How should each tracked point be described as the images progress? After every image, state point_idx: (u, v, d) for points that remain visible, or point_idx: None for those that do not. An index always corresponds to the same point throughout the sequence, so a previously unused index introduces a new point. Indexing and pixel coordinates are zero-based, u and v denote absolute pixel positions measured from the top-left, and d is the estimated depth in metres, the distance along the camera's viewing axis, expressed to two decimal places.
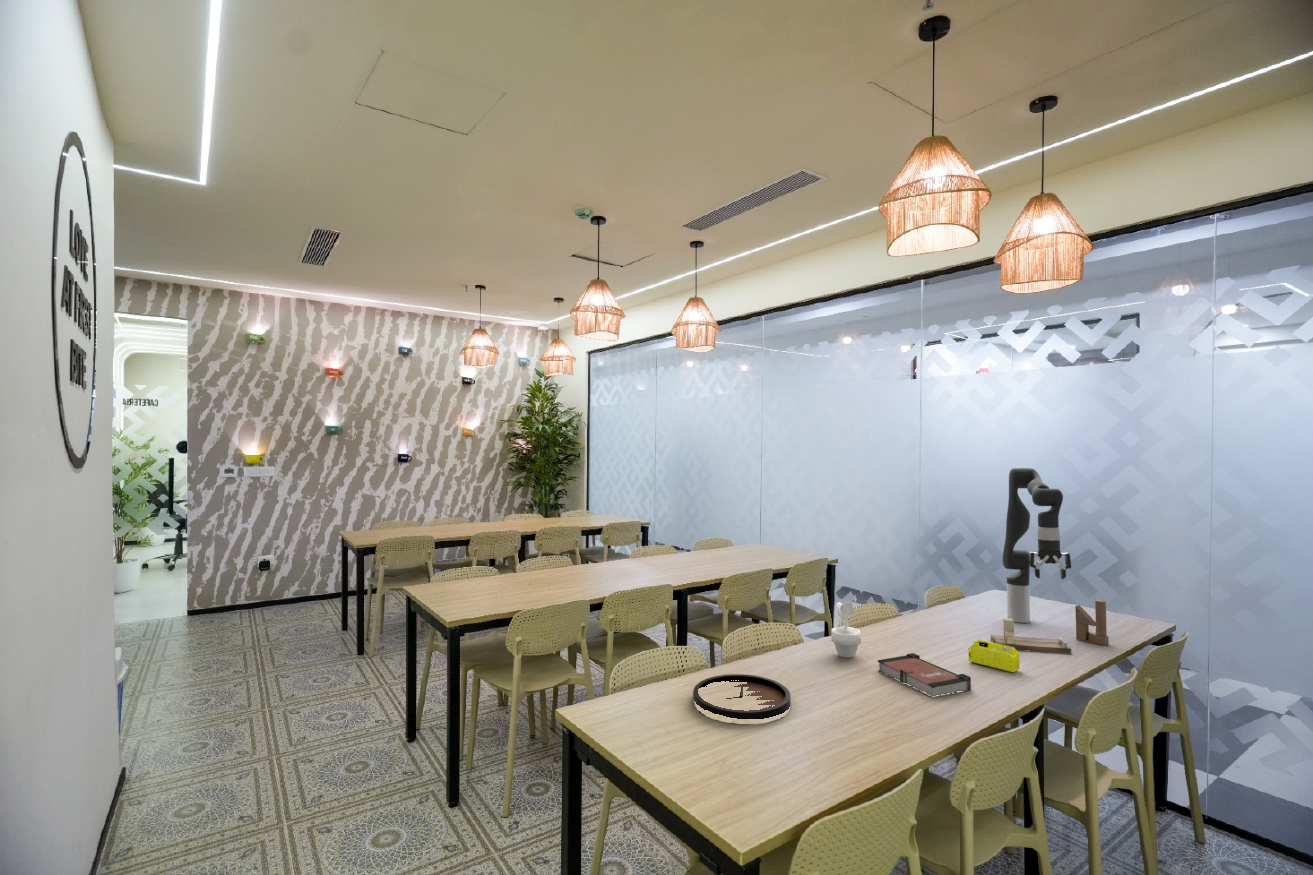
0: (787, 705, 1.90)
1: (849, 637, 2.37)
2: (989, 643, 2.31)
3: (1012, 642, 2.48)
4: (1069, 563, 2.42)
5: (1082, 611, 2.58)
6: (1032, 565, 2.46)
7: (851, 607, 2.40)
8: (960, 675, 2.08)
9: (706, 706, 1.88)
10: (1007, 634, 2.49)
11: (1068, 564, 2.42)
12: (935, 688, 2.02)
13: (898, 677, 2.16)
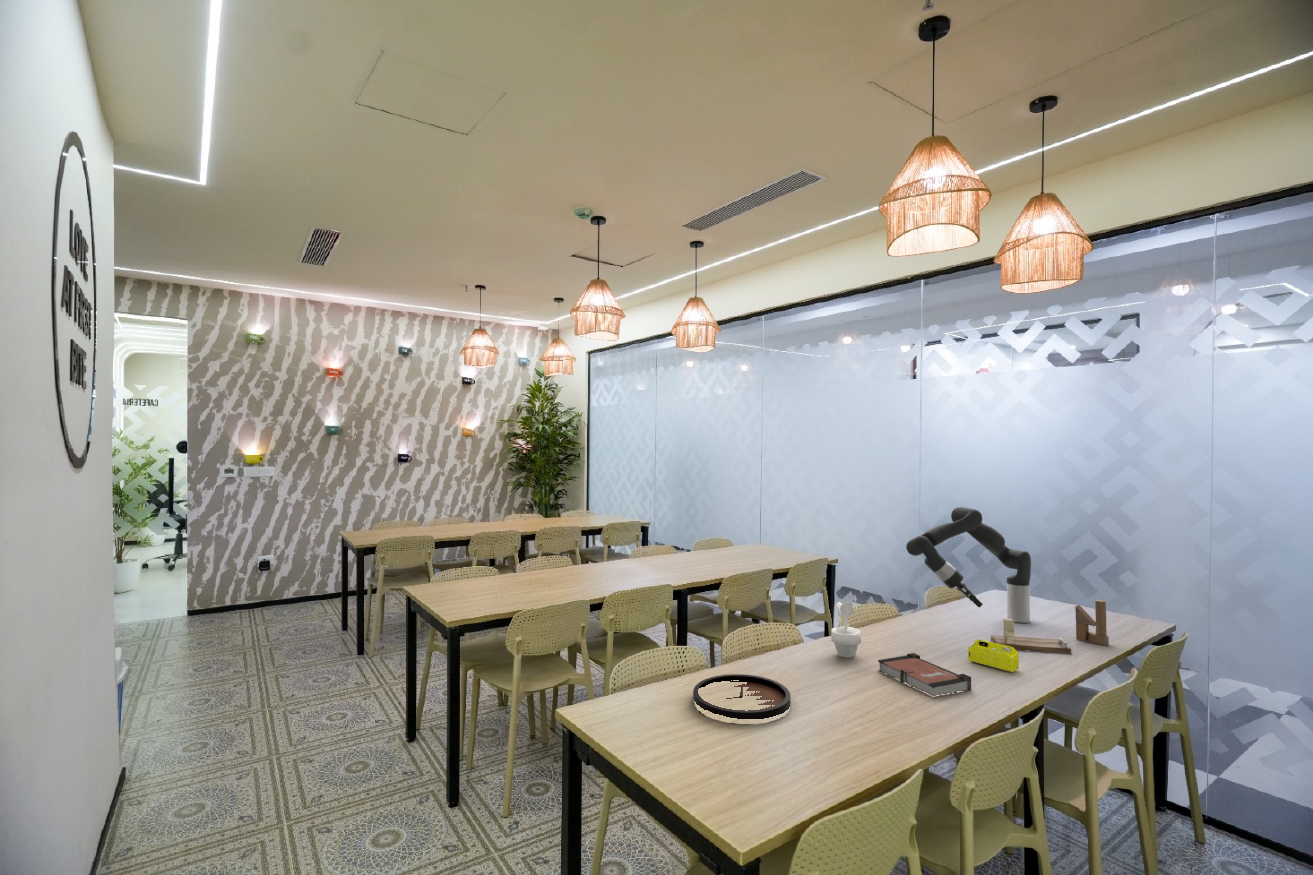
0: (787, 705, 1.90)
1: (849, 637, 2.37)
2: (989, 643, 2.32)
3: (1012, 642, 2.48)
4: (967, 597, 2.49)
5: (1082, 611, 2.58)
6: None
7: (851, 607, 2.40)
8: (960, 675, 2.08)
9: (706, 706, 1.88)
10: (1007, 634, 2.49)
11: (968, 597, 2.49)
12: (935, 688, 2.02)
13: (898, 677, 2.16)
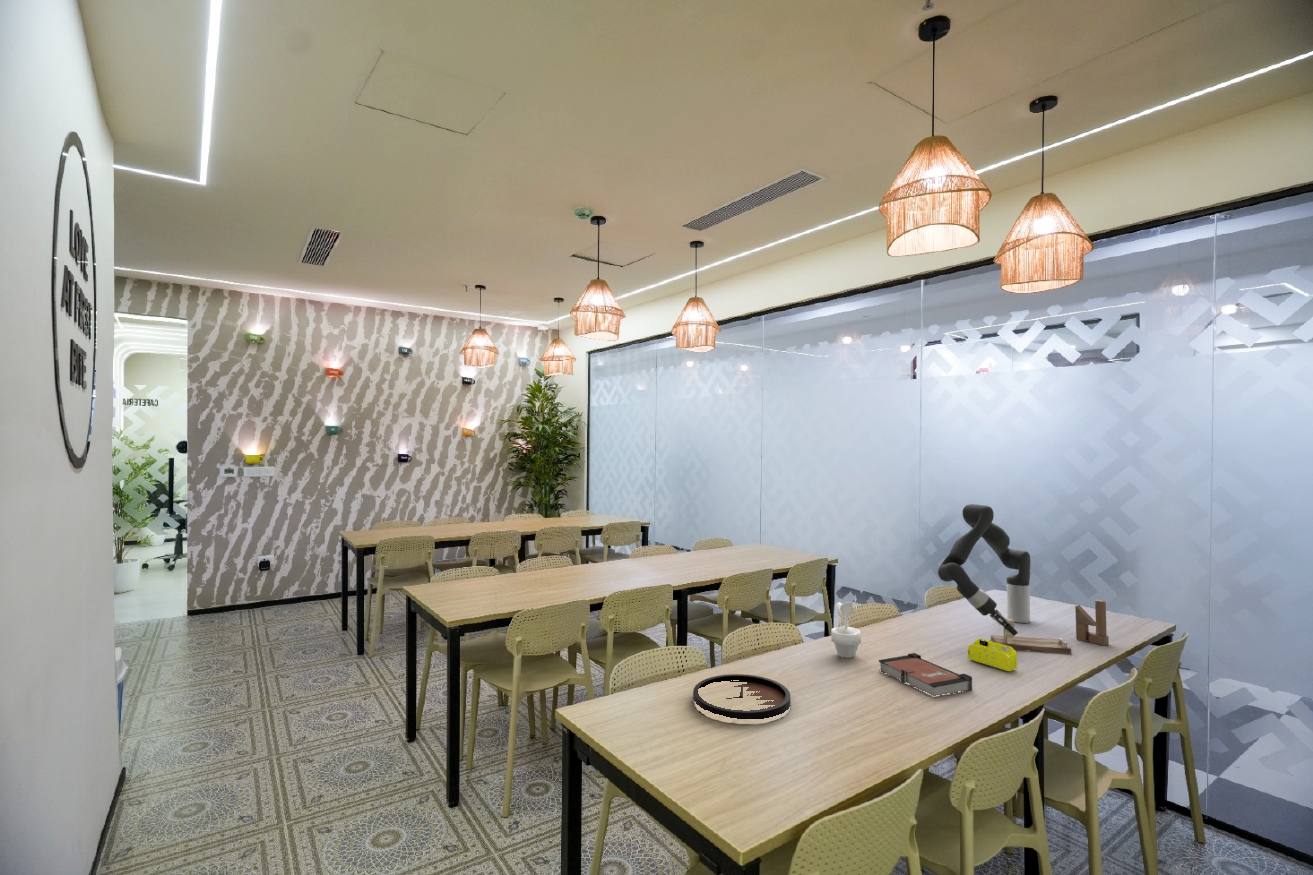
0: (787, 705, 1.90)
1: (849, 637, 2.37)
2: (989, 642, 2.33)
3: (1012, 642, 2.48)
4: (1003, 626, 2.47)
5: (1082, 611, 2.58)
6: None
7: (851, 607, 2.40)
8: (961, 675, 2.08)
9: (706, 706, 1.88)
10: (1007, 634, 2.49)
11: (1003, 626, 2.48)
12: (936, 688, 2.02)
13: (899, 677, 2.16)
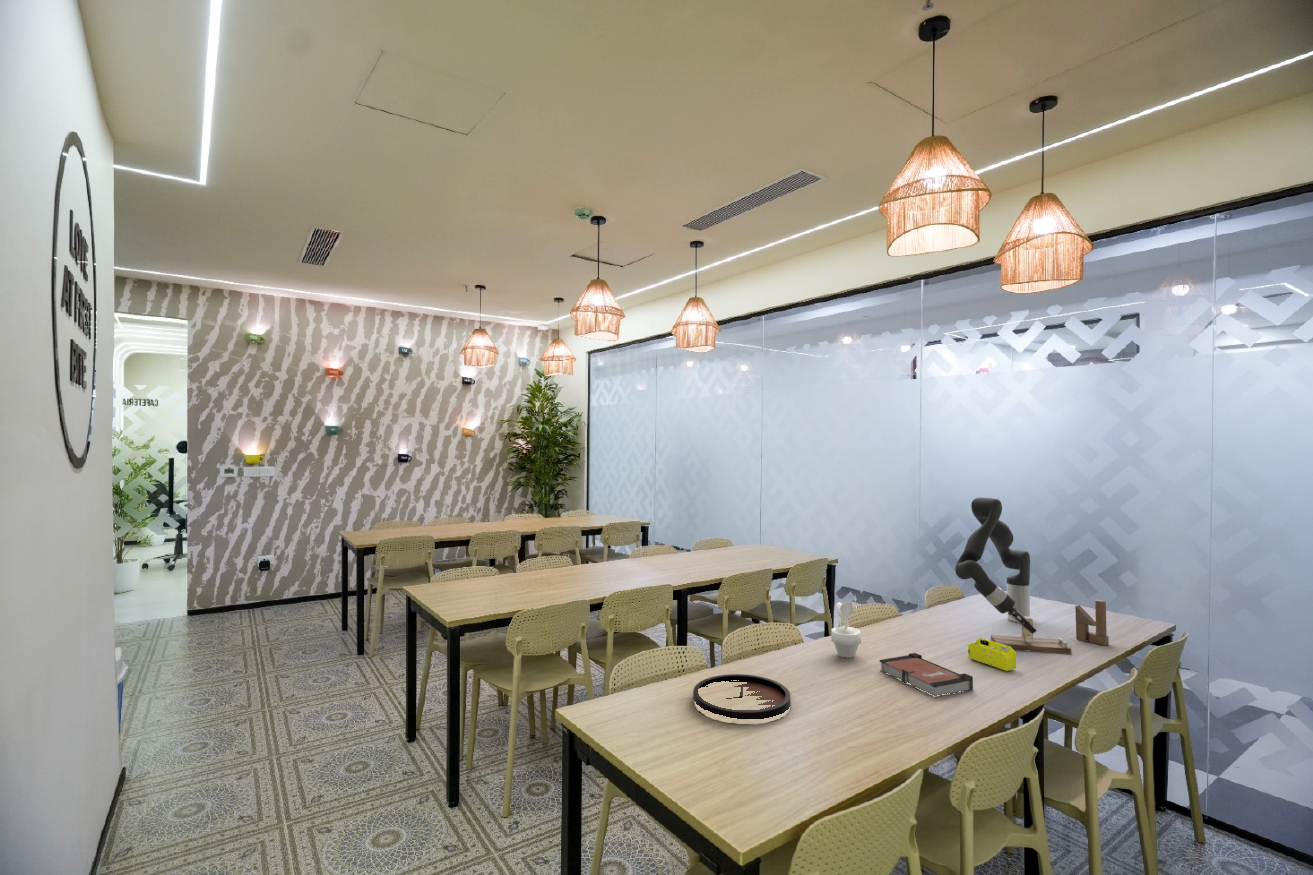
0: (787, 705, 1.90)
1: (849, 637, 2.37)
2: (989, 641, 2.33)
3: (1031, 640, 2.46)
4: None
5: (1082, 611, 2.58)
6: None
7: (851, 607, 2.40)
8: (962, 675, 2.08)
9: (706, 706, 1.88)
10: (1026, 632, 2.48)
11: None
12: (937, 688, 2.02)
13: (900, 677, 2.16)
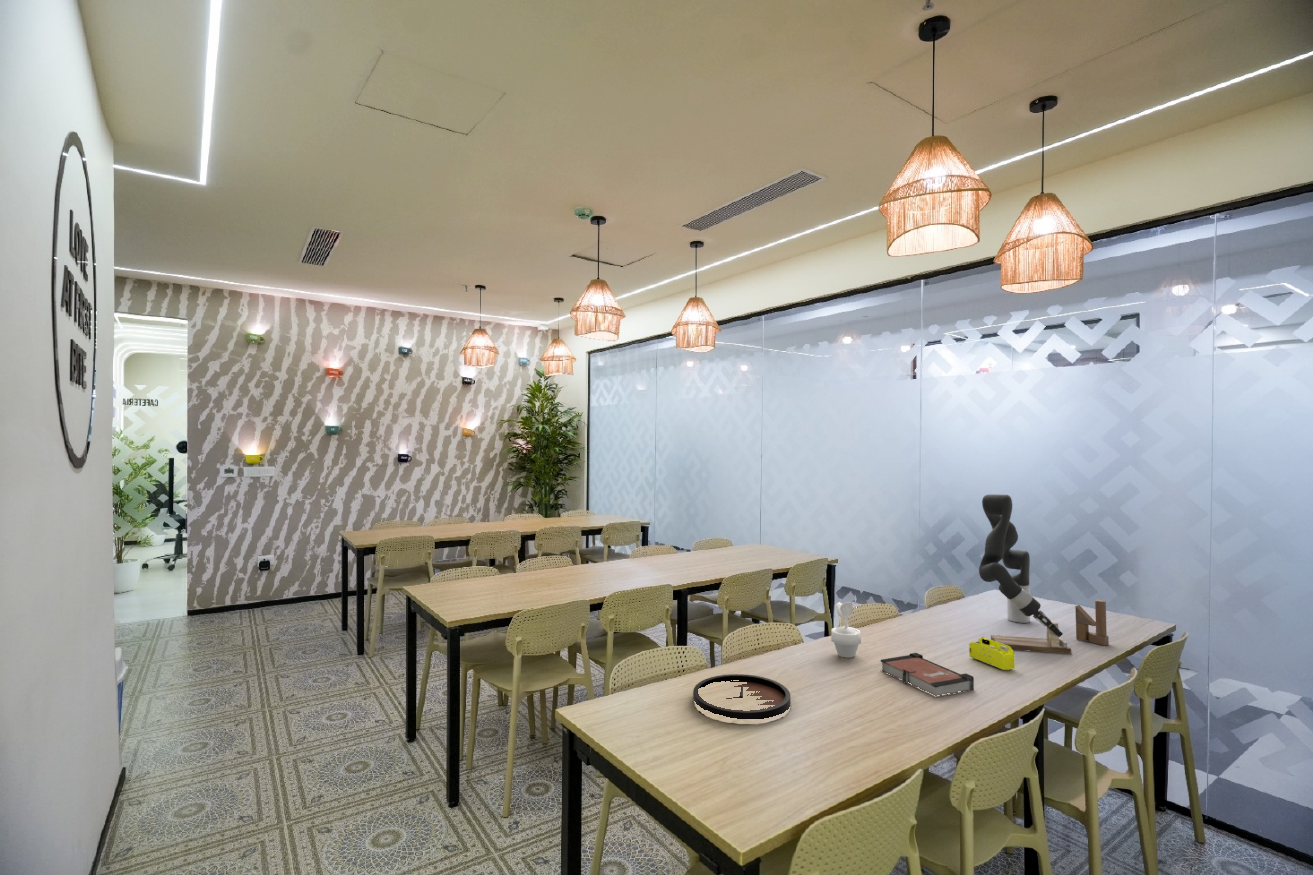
0: (787, 705, 1.90)
1: (849, 637, 2.37)
2: (990, 641, 2.34)
3: (1057, 645, 2.43)
4: None
5: (1082, 611, 2.58)
6: None
7: (851, 607, 2.40)
8: (963, 675, 2.08)
9: (706, 706, 1.88)
10: (1051, 637, 2.45)
11: (1048, 627, 2.43)
12: (938, 688, 2.02)
13: (901, 677, 2.16)
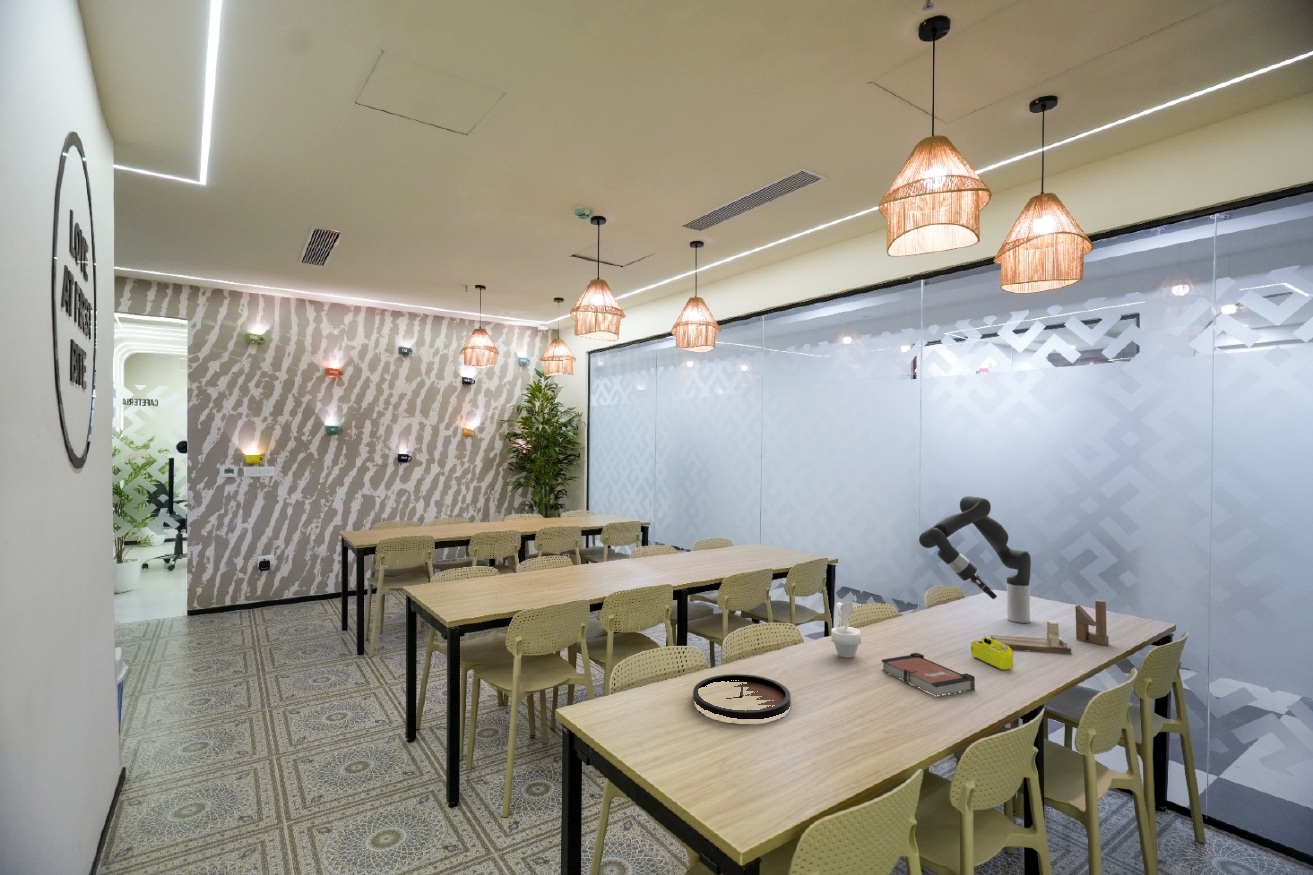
0: (787, 705, 1.90)
1: (849, 637, 2.37)
2: (992, 640, 2.35)
3: (1057, 645, 2.43)
4: (981, 589, 2.48)
5: (1082, 611, 2.58)
6: None
7: (851, 607, 2.40)
8: (964, 675, 2.08)
9: (706, 706, 1.88)
10: (1051, 637, 2.45)
11: (982, 589, 2.48)
12: (939, 687, 2.02)
13: (902, 676, 2.16)
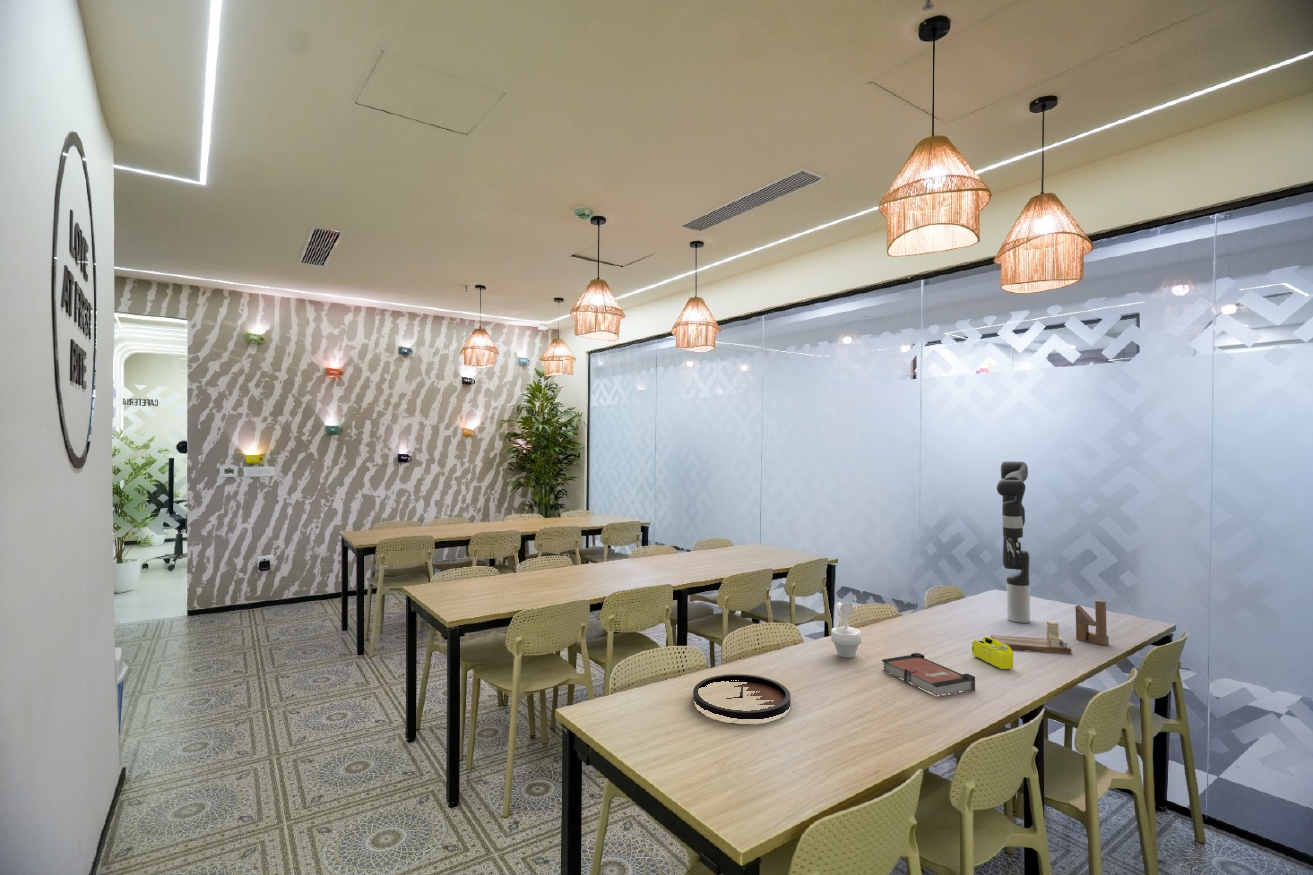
0: (787, 705, 1.90)
1: (849, 637, 2.37)
2: (993, 640, 2.35)
3: (1057, 645, 2.43)
4: (1014, 551, 2.58)
5: (1082, 611, 2.58)
6: (1006, 547, 2.70)
7: (851, 607, 2.40)
8: (964, 675, 2.08)
9: (706, 706, 1.88)
10: (1051, 637, 2.45)
11: (1014, 552, 2.58)
12: (939, 687, 2.02)
13: (902, 676, 2.16)
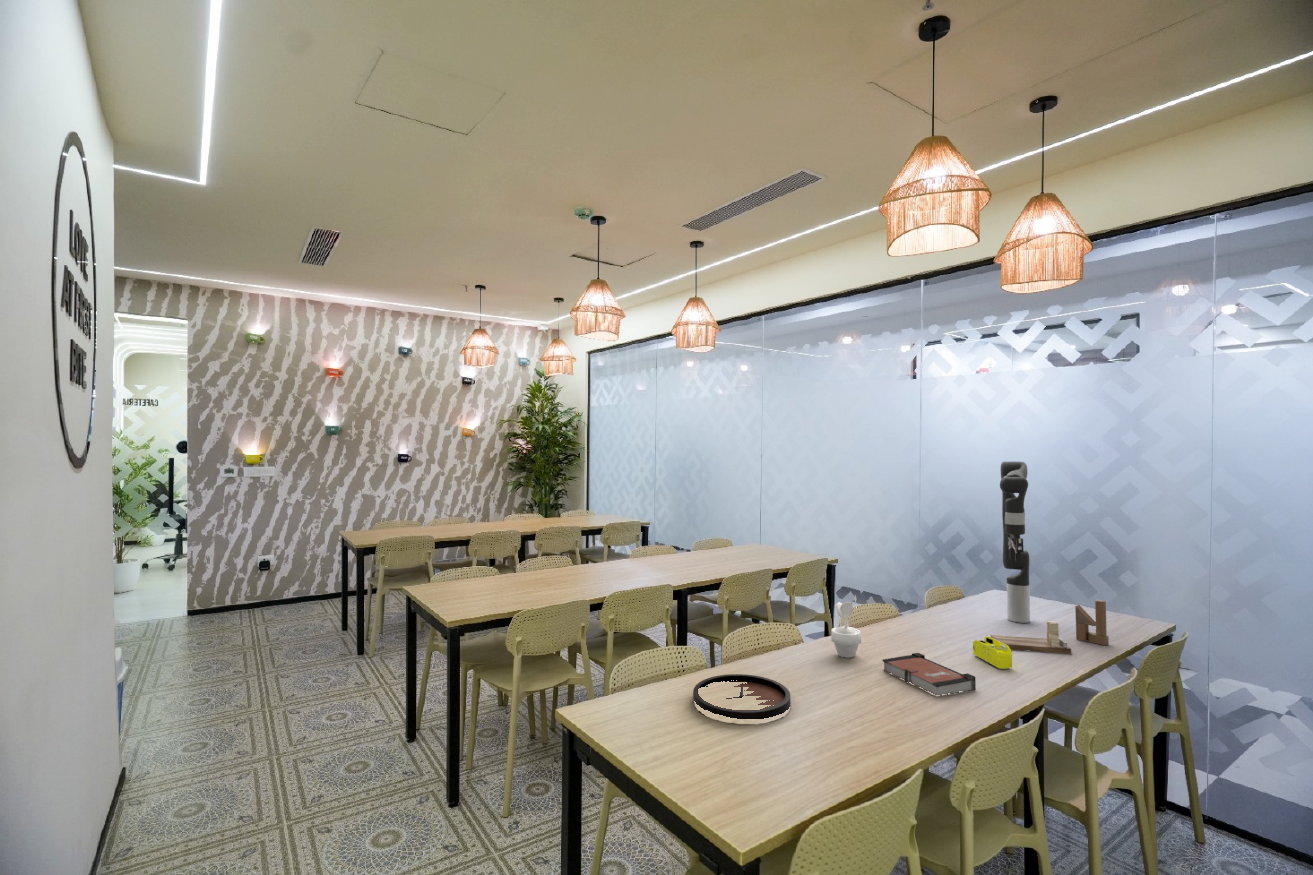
0: (787, 705, 1.90)
1: (849, 637, 2.37)
2: (993, 640, 2.35)
3: (1057, 645, 2.43)
4: (1016, 547, 2.58)
5: (1082, 611, 2.58)
6: (1008, 545, 2.71)
7: (851, 607, 2.40)
8: (965, 675, 2.08)
9: (706, 706, 1.88)
10: (1051, 637, 2.45)
11: (1016, 548, 2.58)
12: (939, 687, 2.02)
13: (903, 676, 2.16)
